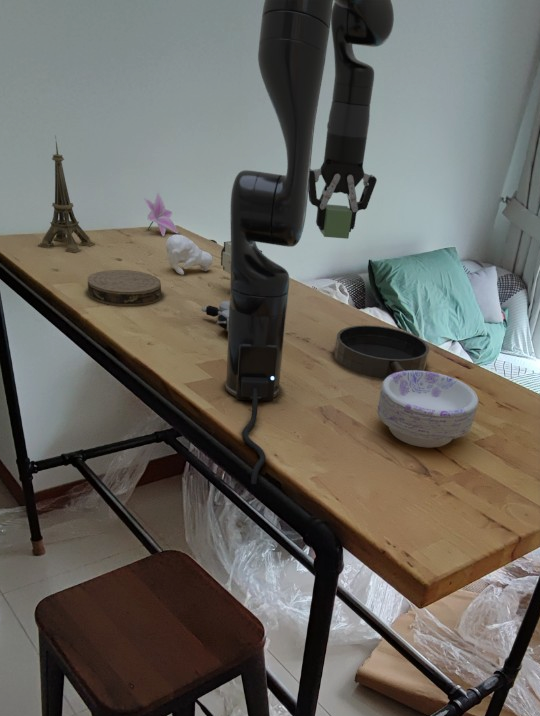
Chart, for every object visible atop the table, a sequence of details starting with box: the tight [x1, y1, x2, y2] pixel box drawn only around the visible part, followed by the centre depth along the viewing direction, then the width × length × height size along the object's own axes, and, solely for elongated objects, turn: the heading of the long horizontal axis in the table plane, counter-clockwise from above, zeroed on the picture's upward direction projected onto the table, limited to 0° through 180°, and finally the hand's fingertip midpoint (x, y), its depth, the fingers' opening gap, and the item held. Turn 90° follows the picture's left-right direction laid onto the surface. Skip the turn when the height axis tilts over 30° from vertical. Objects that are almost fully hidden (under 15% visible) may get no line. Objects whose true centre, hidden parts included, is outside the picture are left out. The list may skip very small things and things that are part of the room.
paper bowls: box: [376, 370, 479, 449], centre depth 103 cm, size 15×15×8 cm
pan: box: [333, 324, 430, 380], centre depth 127 cm, size 18×18×4 cm
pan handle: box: [390, 361, 405, 373], centre depth 117 cm, size 9×2×2 cm, turn 9°
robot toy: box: [200, 300, 230, 332], centre depth 134 cm, size 12×4×15 cm
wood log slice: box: [87, 269, 162, 307], centre depth 144 cm, size 16×16×3 cm
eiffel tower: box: [37, 135, 96, 254], centre depth 164 cm, size 11×11×25 cm
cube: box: [319, 203, 352, 240], centre depth 129 cm, size 5×5×5 cm
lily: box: [143, 191, 179, 237], centre depth 190 cm, size 12×12×10 cm
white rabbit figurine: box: [165, 234, 213, 276], centre depth 162 cm, size 6×8×12 cm
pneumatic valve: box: [220, 240, 263, 275], centre depth 149 cm, size 6×12×12 cm, turn 36°
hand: (334, 229), depth 130 cm, fingers closed on cube, 5 cm apart
